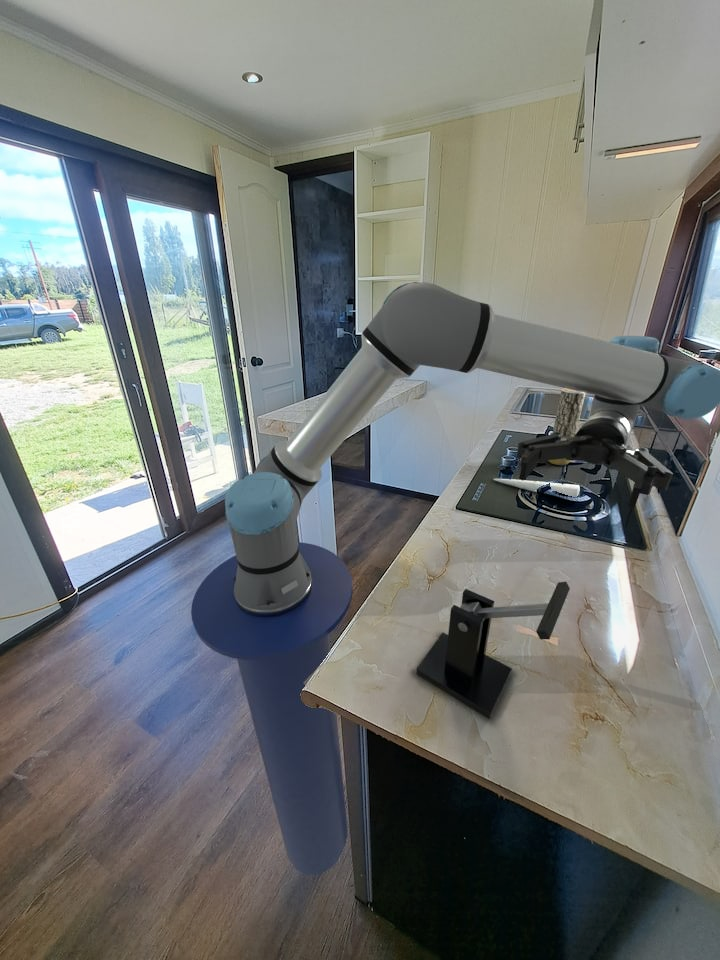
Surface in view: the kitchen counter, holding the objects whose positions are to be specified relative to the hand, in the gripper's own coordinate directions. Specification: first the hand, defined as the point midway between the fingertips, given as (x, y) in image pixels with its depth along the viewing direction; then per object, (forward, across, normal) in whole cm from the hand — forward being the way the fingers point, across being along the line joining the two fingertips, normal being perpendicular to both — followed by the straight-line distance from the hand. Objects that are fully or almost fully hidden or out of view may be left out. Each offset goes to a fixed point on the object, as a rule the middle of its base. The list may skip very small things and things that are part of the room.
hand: (574, 483), depth 52 cm
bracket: (+13, +7, -31) cm, 34 cm away
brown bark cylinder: (-81, +15, -31) cm, 88 cm away
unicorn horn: (-55, +15, -31) cm, 65 cm away
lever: (+13, +2, -16) cm, 20 cm away
